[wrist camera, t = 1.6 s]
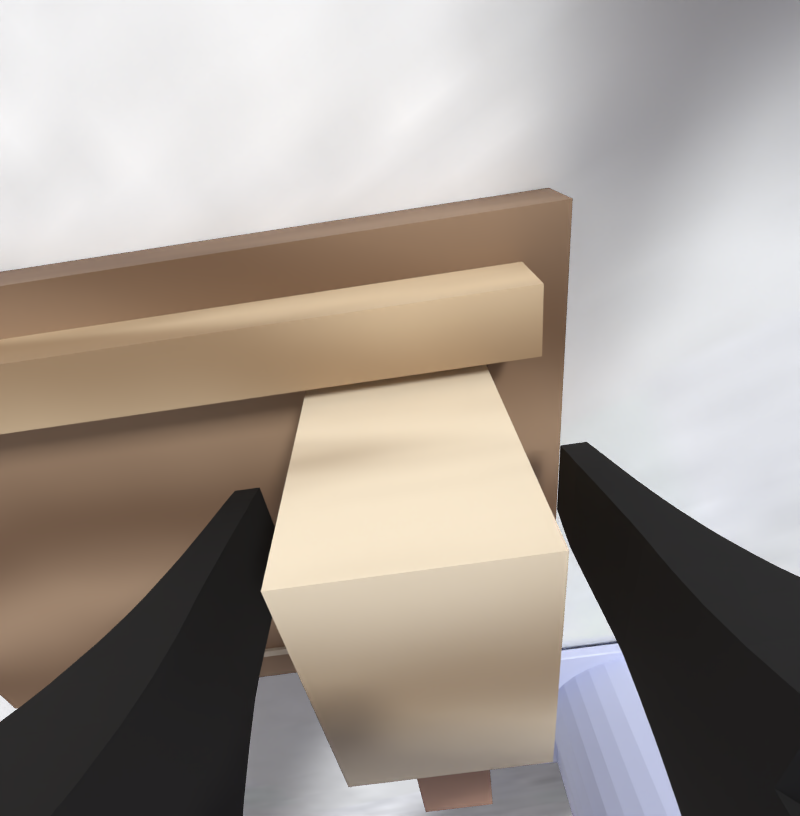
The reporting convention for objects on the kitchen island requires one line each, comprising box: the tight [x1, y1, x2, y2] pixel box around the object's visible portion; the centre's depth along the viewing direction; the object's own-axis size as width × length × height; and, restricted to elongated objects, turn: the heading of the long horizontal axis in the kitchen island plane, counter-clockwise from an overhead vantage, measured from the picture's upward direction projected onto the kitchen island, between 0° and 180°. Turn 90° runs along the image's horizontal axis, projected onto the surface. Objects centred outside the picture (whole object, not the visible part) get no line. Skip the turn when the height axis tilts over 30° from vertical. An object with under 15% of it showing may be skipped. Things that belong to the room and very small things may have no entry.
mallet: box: [261, 365, 569, 812], centre depth 12 cm, size 11×4×6 cm, turn 8°
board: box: [0, 188, 572, 708], centre depth 14 cm, size 15×20×3 cm
